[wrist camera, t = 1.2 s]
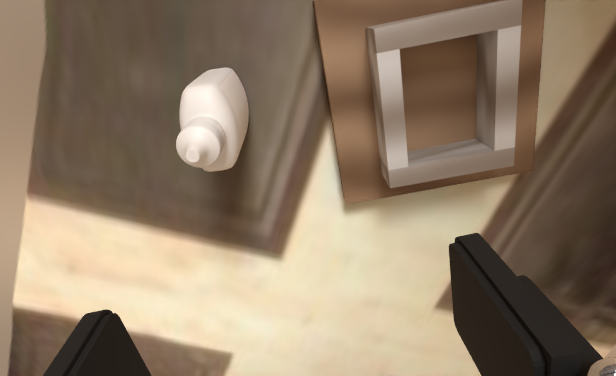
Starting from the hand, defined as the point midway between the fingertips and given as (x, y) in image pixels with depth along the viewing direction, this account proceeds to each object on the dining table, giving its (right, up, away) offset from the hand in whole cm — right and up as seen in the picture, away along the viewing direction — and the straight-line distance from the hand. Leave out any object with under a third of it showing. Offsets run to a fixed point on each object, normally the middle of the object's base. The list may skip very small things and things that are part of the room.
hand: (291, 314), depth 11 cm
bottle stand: (+10, +11, +20) cm, 25 cm away
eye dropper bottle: (-6, +10, +20) cm, 23 cm away
